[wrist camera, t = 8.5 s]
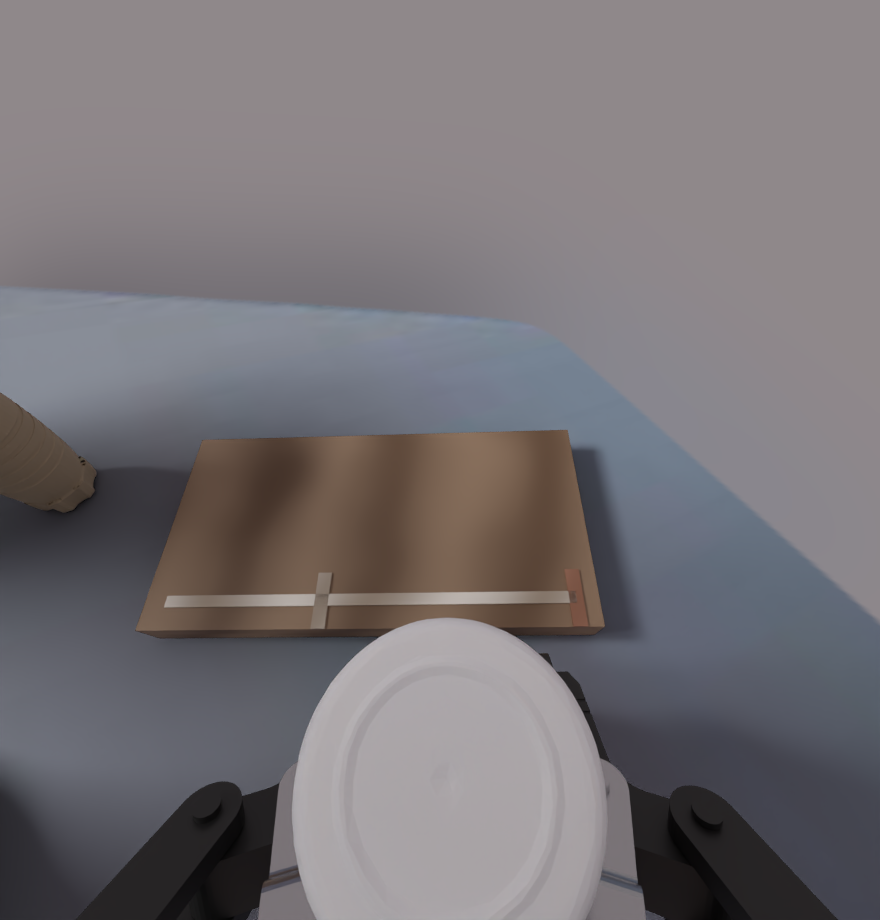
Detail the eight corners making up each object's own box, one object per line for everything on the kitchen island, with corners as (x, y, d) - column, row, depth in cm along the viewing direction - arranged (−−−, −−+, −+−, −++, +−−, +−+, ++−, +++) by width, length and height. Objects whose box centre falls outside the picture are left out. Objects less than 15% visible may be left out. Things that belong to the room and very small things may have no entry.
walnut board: (159, 638, 20) (133, 630, 19) (218, 457, 26) (201, 438, 24) (594, 634, 19) (605, 626, 18) (561, 448, 25) (567, 428, 23)
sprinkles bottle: (525, 711, 18) (639, 673, 7) (493, 847, 16) (580, 1141, 4) (423, 669, 19) (370, 572, 8) (379, 791, 17) (210, 913, 5)
